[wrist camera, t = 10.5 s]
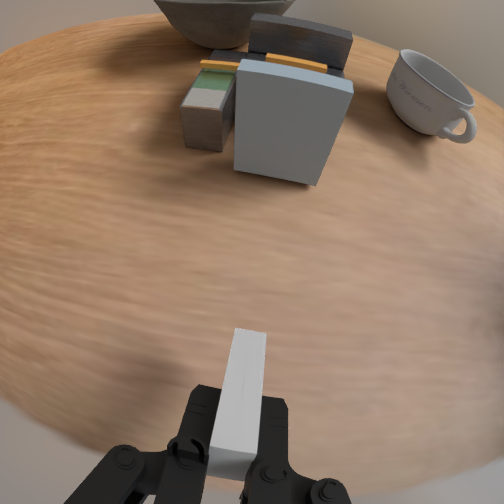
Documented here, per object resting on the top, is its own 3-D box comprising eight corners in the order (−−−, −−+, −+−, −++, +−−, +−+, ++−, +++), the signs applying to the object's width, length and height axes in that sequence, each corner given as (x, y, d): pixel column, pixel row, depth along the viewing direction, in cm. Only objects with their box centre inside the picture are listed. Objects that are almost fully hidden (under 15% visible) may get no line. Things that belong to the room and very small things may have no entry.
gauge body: (331, 92, 30) (350, 31, 22) (331, 173, 25) (365, 98, 17) (221, 73, 30) (221, 10, 22) (185, 147, 25) (173, 66, 17)
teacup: (370, 83, 32) (388, 38, 25) (431, 103, 33) (454, 65, 25) (398, 157, 27) (432, 104, 20) (466, 175, 27) (502, 136, 20)
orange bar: (321, 84, 23) (327, 64, 20) (321, 89, 22) (327, 69, 20) (202, 66, 23) (201, 46, 21) (200, 70, 22) (199, 50, 20)
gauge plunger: (319, 124, 27) (345, 42, 18) (315, 186, 24) (353, 93, 15) (250, 111, 27) (258, 25, 18) (233, 169, 24) (236, 69, 15)
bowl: (260, 86, 30) (268, 12, 20) (133, 62, 31) (122, 3, 22) (303, 36, 37) (313, -15, 27) (201, 17, 38) (200, -29, 29)
